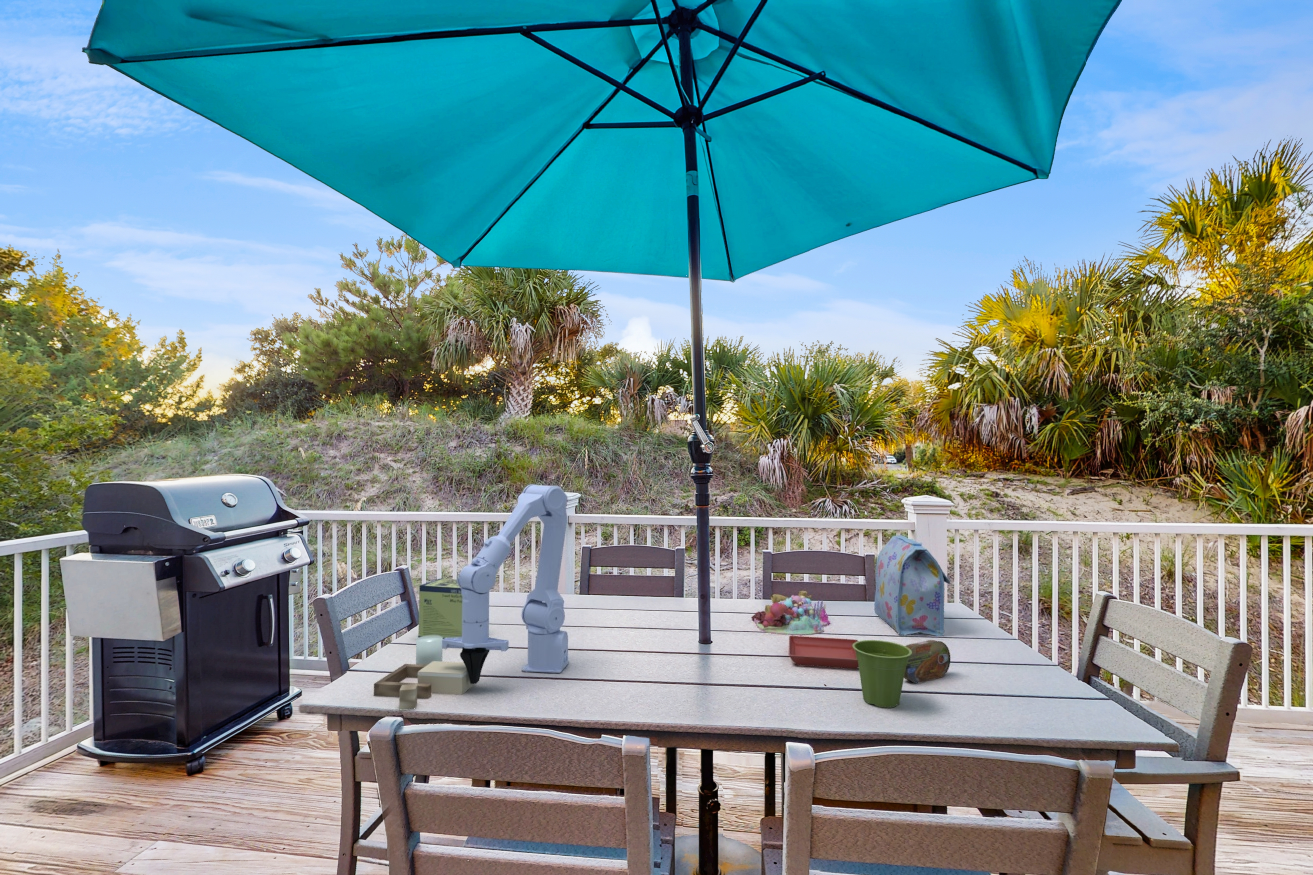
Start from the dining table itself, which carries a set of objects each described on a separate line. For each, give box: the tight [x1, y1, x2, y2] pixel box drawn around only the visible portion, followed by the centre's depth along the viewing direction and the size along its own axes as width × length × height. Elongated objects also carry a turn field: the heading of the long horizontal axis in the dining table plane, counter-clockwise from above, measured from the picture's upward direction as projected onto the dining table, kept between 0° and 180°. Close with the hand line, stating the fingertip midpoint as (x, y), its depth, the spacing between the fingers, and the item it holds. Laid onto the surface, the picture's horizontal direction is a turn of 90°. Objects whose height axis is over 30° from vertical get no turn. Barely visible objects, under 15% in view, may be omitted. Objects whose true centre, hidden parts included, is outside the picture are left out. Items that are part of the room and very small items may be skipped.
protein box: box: [417, 577, 462, 639], centre depth 179 cm, size 10×16×16 cm
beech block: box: [398, 684, 418, 710], centre depth 131 cm, size 3×3×4 cm
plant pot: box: [852, 639, 912, 709], centre depth 135 cm, size 12×12×11 cm
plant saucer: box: [788, 635, 859, 670], centre depth 164 cm, size 18×18×3 cm
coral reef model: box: [750, 590, 831, 636], centre depth 196 cm, size 25×24×9 cm
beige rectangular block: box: [417, 661, 474, 696], centre depth 142 cm, size 10×7×4 cm
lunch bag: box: [873, 534, 951, 637], centre depth 194 cm, size 22×17×26 cm
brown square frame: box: [373, 663, 432, 700], centre depth 143 cm, size 12×13×2 cm
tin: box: [904, 639, 951, 684], centre depth 149 cm, size 15×3×8 cm, turn 117°
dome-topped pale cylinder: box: [415, 635, 443, 665], centre depth 155 cm, size 6×6×7 cm
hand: (474, 682), depth 141 cm, fingers closed
